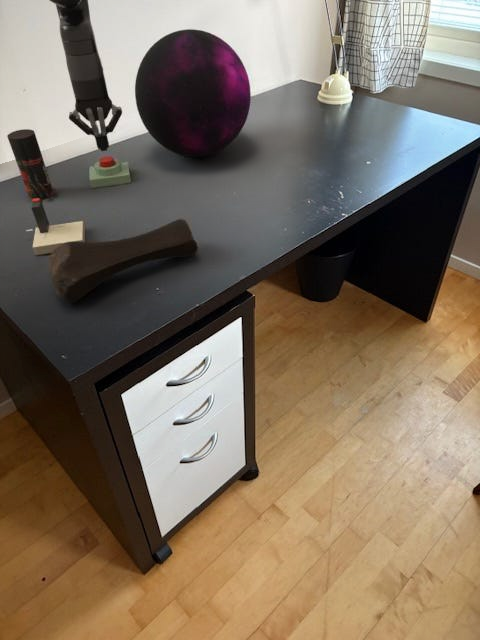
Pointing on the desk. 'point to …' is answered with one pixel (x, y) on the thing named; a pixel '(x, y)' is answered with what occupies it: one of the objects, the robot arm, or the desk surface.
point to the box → (109, 174)
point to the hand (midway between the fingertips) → (104, 149)
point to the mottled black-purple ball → (192, 93)
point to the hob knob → (40, 215)
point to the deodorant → (31, 163)
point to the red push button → (107, 161)
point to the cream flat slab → (57, 236)
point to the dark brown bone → (114, 257)
